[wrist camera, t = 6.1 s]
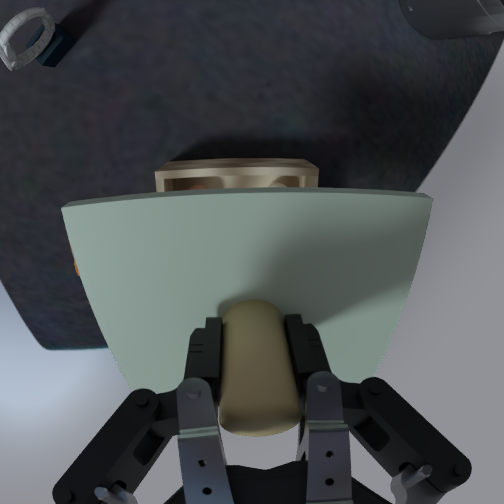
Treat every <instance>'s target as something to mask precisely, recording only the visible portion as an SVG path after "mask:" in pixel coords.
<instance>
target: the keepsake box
mask: <svg viewBox="0 0 504 504" xmlns="http://www.w3.org/2000/svg"><path fill="white" fill-rule="evenodd" d="M318 176H319V168H317V167H316V166H314V165H313V164H311V163H310V162H308V161H307V160H305V159H284V158H234V159H205V160H187V161H173V162H168V163H166V164H165V165H163V166H162V167H161V168H159V169H158V170H157V171H155V177H156V188H157V192H168V191H183V190H187V189H188V188H189V187H190V186H192V185H195V184H200V185H203V186H205V187H206V188H207V189H222V188H256V187H268V186H269V185H270V184H272V183H282V184H284V185H285V186H286V187H317V188H318Z"/></svg>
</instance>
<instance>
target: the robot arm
mask: <svg viewBox="0 0 504 504" xmlns="http://www.w3.org/2000/svg"><path fill="white" fill-rule="evenodd" d="M399 1H400V6H401V8H402V11H403V13H404V15H405V16H406V18H407V19H408V21H409V22H410V23H411V25H412V26H413V27H414V28H415V29H416V30H418V31H419V32H420V33H421V34H423V35H424V36H426V37H428V38H431V39H435V40H438V39H444V38H448V39H454V38H460V37H467V36H475V35H484V34H491V33H492V32H495V31H504V0H399ZM284 326H285V331H286V335H287V340H288V345H289V350H290V355H291V360H292V365H293V370H294V375H295V380H296V385H297V390H298V395H299V401H300V406H301V411H302V418H301V420H300V422H299V430H298V449H297V455H296V461H292V462H290V463H287V464H284V465H281V466H277V467H274V468H271V469H267V470H262V469H257V468H250V467H245V466H240V465H227V461H226V457H225V453H224V449H223V444H222V440H221V434H220V429H219V424H218V419H217V418H218V406H219V399H220V381H221V352H222V327H223V323H222V317H206V323H205V328H195V330H194V331H193V332H192V334H191V335H190V340H189V346H188V353H187V359H186V365H185V372H184V378H183V381H182V382H181V383H180V384H179V385H178V387H177V388H176V389H174V390H172V391H168V392H164V393H160V394H156V393H155V392H154V391H152V390H150V389H146V388H140V389H137V390H134V391H133V392H132V393H130V394H129V396H128V397H127V398H126V399H125V400H124V402H123V403H122V404H121V405H120V406H119V408H118V409H117V410H116V411H115V412H114V414H113V415H112V416H111V417H110V419H109V420H108V421H107V422H106V423H105V425H104V426H103V427H102V428H101V429H100V431H99V432H98V433H97V434H96V436H95V437H94V438H93V439H92V440H91V442H90V443H89V444H88V445H87V447H86V448H85V449H84V450H83V451H82V453H81V454H80V455H79V456H78V458H77V459H76V460H75V461H74V462H73V464H72V465H71V466H70V467H69V468H68V470H67V471H66V472H65V473H64V475H63V476H62V477H61V478H60V480H59V481H58V482H57V483H56V484H55V486H54V488H53V491H52V495H53V499H54V501H55V503H56V504H138V503H137V500H136V498H135V497H134V496H133V495H132V494H133V493H134V491H135V490H136V488H137V487H138V486H139V484H140V483H141V481H142V480H143V479H144V477H145V476H146V474H147V473H148V471H149V470H150V469H151V467H152V466H153V464H154V462H155V461H156V460H157V458H158V457H159V455H160V454H161V452H162V451H163V449H164V448H165V446H166V445H167V444H168V442H169V441H170V439H171V438H172V436H175V435H178V448H179V457H180V466H181V473H182V480H183V486H182V487H181V488H180V489H179V490H178V491H176V493H175V494H173V495H172V496H171V497H170V498H169V499H168V500H167V501H166V502H165V503H164V504H392V503H390V502H389V501H387V500H386V499H384V498H383V497H381V496H379V495H378V494H376V493H375V492H373V491H372V490H370V489H369V488H367V487H366V486H364V485H363V484H362V483H360V482H359V481H357V480H356V479H355V478H353V477H352V476H351V460H350V459H351V458H350V441H349V431H350V432H351V433H352V434H353V436H354V437H355V438H356V439H357V440H358V441H359V442H360V443H361V444H362V446H363V447H364V448H365V449H366V450H367V451H368V452H369V453H370V454H371V455H372V456H373V458H374V459H375V460H376V461H377V462H378V463H379V464H380V465H381V466H382V467H383V468H384V469H385V470H386V471H387V472H388V474H389V475H390V476H391V477H392V478H393V479H392V481H391V491H392V493H393V494H394V496H395V499H396V504H436V503H437V502H438V501H439V500H440V499H441V498H442V497H443V496H444V495H445V494H446V493H447V492H449V491H451V490H452V489H454V488H456V487H458V486H460V485H461V484H463V483H464V482H466V481H467V479H468V478H469V477H470V474H471V469H472V466H471V463H470V461H469V459H468V458H467V457H466V456H465V455H463V454H462V453H461V452H460V451H459V450H458V449H457V448H456V447H455V446H454V445H453V444H452V443H450V441H448V440H447V439H446V438H445V437H444V436H443V435H442V434H441V433H440V432H439V431H438V430H437V429H436V428H434V427H433V426H432V425H431V424H430V423H429V422H428V421H427V420H426V419H425V418H424V417H423V416H422V415H421V414H419V413H418V412H417V411H416V410H415V409H414V408H413V407H412V406H411V405H410V404H409V403H408V402H407V401H406V400H404V399H403V398H402V397H401V396H400V395H399V394H398V393H397V392H396V391H395V390H394V389H393V388H392V387H391V386H390V385H388V384H387V383H386V382H385V381H384V380H382V379H380V378H377V377H369V378H366V379H364V380H363V381H362V382H361V384H359V383H350V382H344V381H342V380H339V379H338V378H337V376H336V375H334V374H333V373H332V371H331V369H330V366H329V362H328V359H327V356H326V353H325V350H324V347H323V344H322V341H321V338H320V335H319V332H318V330H317V329H316V328H315V326H314V325H313V324H312V323H308V324H303V320H302V317H301V314H285V316H284Z"/></svg>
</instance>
